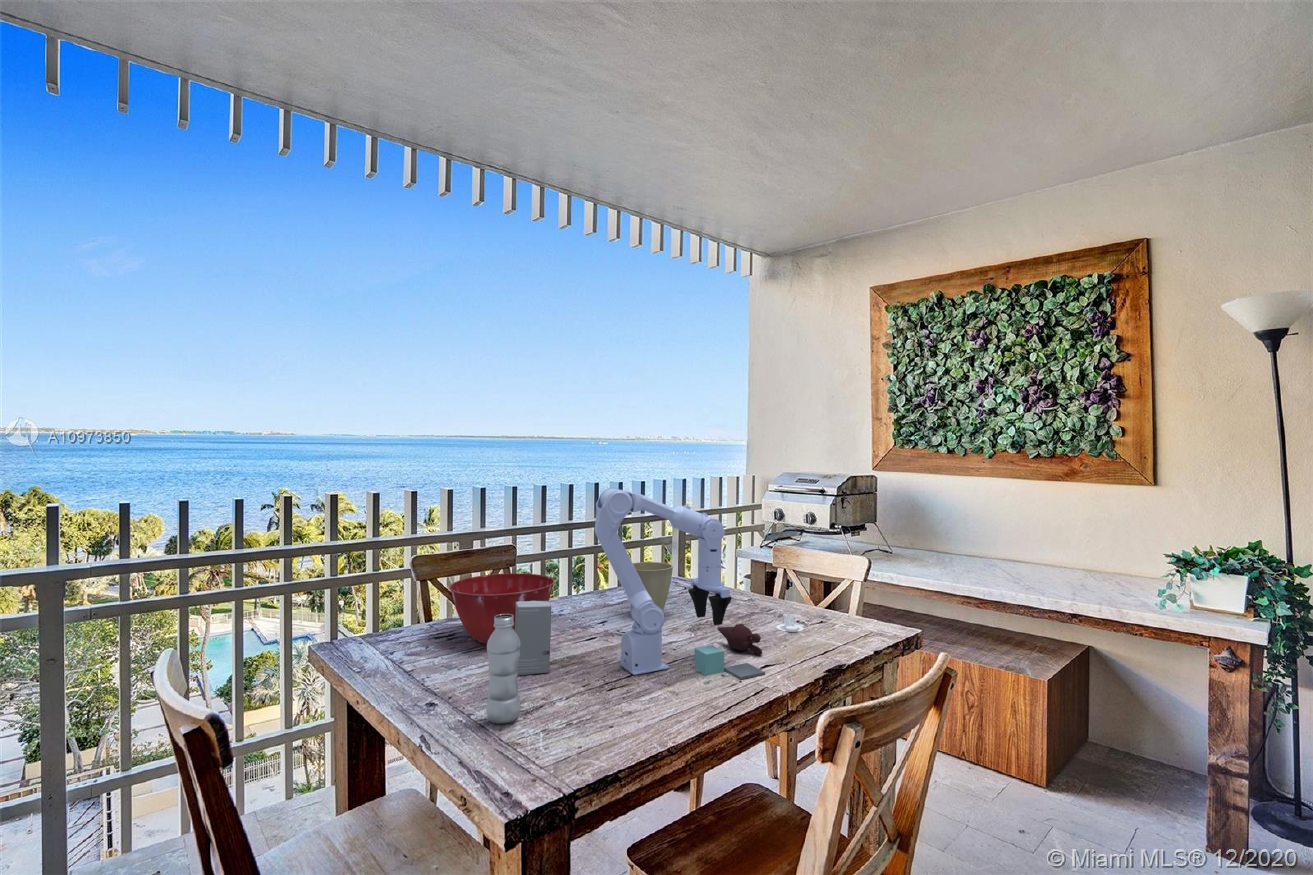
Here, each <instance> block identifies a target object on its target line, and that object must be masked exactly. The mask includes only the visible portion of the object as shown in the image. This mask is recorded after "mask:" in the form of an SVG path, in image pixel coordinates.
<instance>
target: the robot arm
mask: <svg viewBox="0 0 1313 875" xmlns="http://www.w3.org/2000/svg"><path fill="white" fill-rule="evenodd" d="M595 507H596V508H595V509H596V510H595V522H594V534H595V535H596V538H597V539H598V542H599V544H600V545H601V546H600V547H601V548H602V550H603V551H604V554H605V555H606V558H607V559H608V562H609V564H610V566H611V568H612V570H613V571H614V573H615V575H616V578H617V579H618V582H619V584H620V586H621V587H622V590H623V591H624V593H625V595H626V598H627V601H628V604H629V608H630V611H629V613H630V615H631V616H630V617H632V618H631V619H633V620H634V622H633V624H632V627H631V630H630V631H627V632H625V633H623V634H622V636H621V641H620V642H621V643H620V644H621V645H620V646H621V647H620V648H621V652H620V654H621V656H620V660H621V662H620V663H619V665H620V666H621V667H622V668H624V669H625V670H626V671H627V672H629V673H630V674H631V675H633V676H637V675H641V674H646V673H652V672H658V671H662V670H669V669H670V668H669V667H670V666H669V665H668V664H666V663H664V662H663V650H662V649H663V626H664V624H665V619H666V618H665V617H666V616H665V613H664V610H663V611H662V610H661V609H660V608H659V607H658V606H656V605H655V604H654V602H653V600H652V598H651V597H650V595H649V594H648V592H647V591H646V589H645V587H644V585H643V583H642V581H641V579H640V577H639V575H638V573H637V571H636V569H635V567H634V565H633V563H634V562H633V561H632V559H631V557H630V555H629V554H628V552H627V551H628V550H626V547H625V545H624V543H623V541H622V540H621V538H620V535H619V533H618V530H619V528H620V526H621V524H622V521H623V520H624V519H625V518H626V517H627V516H628V514H629V513H630V512H632V513H637V512H640V511H642V512H643V511H644V512H646V513H649V514H652V515H654V516H658V517H660V518H663V519H666V520H668V521H669V523H670V525H671V528H674V529H677V530H679V531H680V532H681V531H682V532H684V533H686V534H689V535H691V536H695V537H697V540H698V542H697V543H698V546H697V577H693V578H690V587H692V588H688V589H687V590H688V591H687V592H688V594H689V595H690V597H691V600H692V603H693V607H694V611H695V615H696V618H699V619H701V618H705V617H706V614H707V602H708V601H709V604H710V607H711V613H712V622H713V625H714V626H720V625H723V621H724V619H725V615H726V611H727V609H728V606H729V604H730V603H731V601H732V595H730V594H731V593H730V592H731V590H730V588H728V587H726V586H725V582H723V581H722V540H723V538H724V537H725V534H726V530H725V529H724V525H723V523H722V522H721V521H720V520H719V519H716V518H713V517H711V516H708V513H707V512H701V513H700V512H698V511H695V510H693V509H692V506H690V505H687V504H684V505H678V506H676V507H674V508H673V507H672V506H669V505H667V504H664V503H662V502H659V501H658V500H655V499H653V498H651V497H648V496H646V495H644V494H640V493H636V492H632V491H629V490H624V489H618V488H617V487H607V488H605V489H604V490H603V491H602V492H601V493H600V494H599V497H598V499H597V501H596V503H595ZM710 593H712V594H715V595H710V596H709V594H710Z"/></svg>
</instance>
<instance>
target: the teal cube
mask: <svg viewBox="0 0 1313 875" xmlns="http://www.w3.org/2000/svg"><path fill="white" fill-rule="evenodd" d="M724 667H725V651H724V650H723V649H720V648H719V647H717V646H715V645H713V644H711V645H705V646H699V647H695V648H694V669H695V671H697V672H699V673H701V674H703V675H704V676H711V675H715V674H721V673H725V671H724Z"/></svg>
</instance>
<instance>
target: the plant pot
mask: <svg viewBox="0 0 1313 875" xmlns="http://www.w3.org/2000/svg"><path fill="white" fill-rule="evenodd" d="M632 563H633V565H634V567H635V569H636V571H637V573H638V575H639V577H640V579H641V581H642V583H643V585H644V587H645V589H646V591H647V592H648V594H649V595H650V597H651V598H652V600H653V602H654V604H655V605H656V606H658V607H659V608H660V609H661V610H662V611H663V612H664V609H665V606H666V603H667V600H668V596H669V591H670V587H671V582H672V576H673V568H674V565H672V564H671V563H666V562H660V561H659V562H658V561H643V562H640V561H638V562H632Z"/></svg>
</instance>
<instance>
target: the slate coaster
mask: <svg viewBox="0 0 1313 875" xmlns="http://www.w3.org/2000/svg"><path fill="white" fill-rule="evenodd" d="M724 672H725V673H727V674H729V675H731V676H733V677H735V678H736V679H738V680H740V681H742V680H747V679H751V678H756V677H761V676H765V675H766V671H765V670H762V669H761V668H759V667H756V666H754V665H752V664H750V663H748V662H744V663H738V664H735V665H729V666H724Z"/></svg>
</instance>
